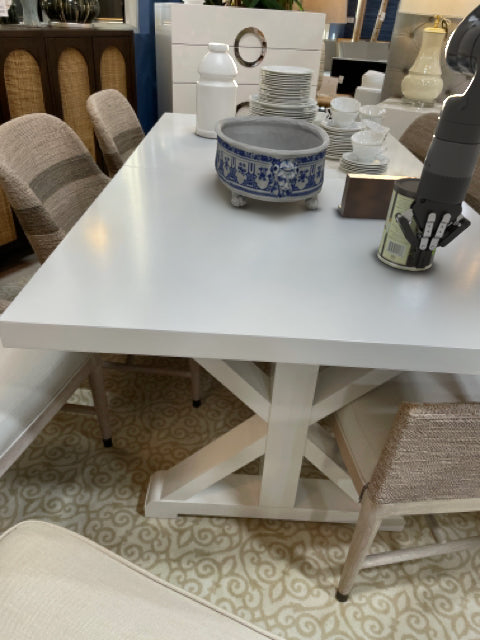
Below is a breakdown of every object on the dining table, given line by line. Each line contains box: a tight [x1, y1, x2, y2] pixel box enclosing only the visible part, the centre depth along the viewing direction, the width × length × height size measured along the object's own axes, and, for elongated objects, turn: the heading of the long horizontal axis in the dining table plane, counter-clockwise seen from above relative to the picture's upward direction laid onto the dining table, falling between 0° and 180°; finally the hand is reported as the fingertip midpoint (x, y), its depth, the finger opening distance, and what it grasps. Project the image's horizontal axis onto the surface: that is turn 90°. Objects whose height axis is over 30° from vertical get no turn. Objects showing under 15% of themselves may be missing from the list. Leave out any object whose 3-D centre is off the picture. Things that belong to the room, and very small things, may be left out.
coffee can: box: [376, 177, 437, 272], centre depth 86 cm, size 10×10×14 cm
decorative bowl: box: [214, 115, 331, 210], centre depth 115 cm, size 42×27×15 cm, turn 8°
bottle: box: [195, 42, 239, 140], centre depth 160 cm, size 14×14×28 cm
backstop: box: [337, 173, 418, 220], centre depth 107 cm, size 16×5×9 cm, turn 93°
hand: (418, 266), depth 84 cm, fingers closed
